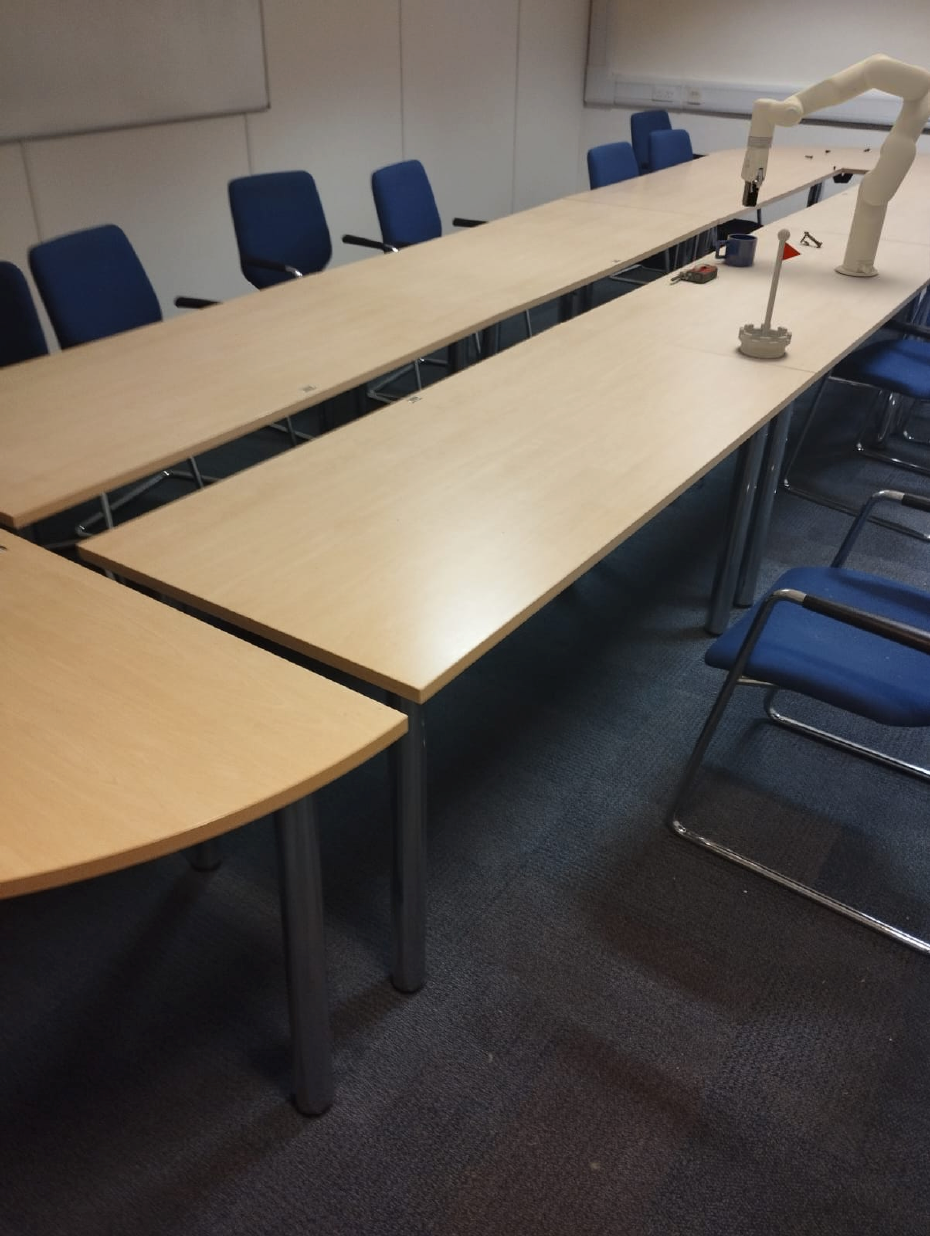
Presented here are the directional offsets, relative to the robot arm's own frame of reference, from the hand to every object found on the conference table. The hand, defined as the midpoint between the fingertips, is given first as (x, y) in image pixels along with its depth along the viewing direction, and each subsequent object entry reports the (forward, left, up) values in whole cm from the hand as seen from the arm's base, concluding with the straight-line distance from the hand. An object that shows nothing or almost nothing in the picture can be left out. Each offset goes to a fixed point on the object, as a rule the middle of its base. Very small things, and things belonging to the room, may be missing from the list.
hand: (749, 203), depth 320 cm
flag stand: (-92, +26, -19) cm, 98 cm away
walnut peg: (0, 0, -1) cm, 1 cm away
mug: (0, +2, -19) cm, 19 cm away
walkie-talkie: (-21, +22, -19) cm, 36 cm away
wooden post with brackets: (+25, -36, -19) cm, 47 cm away
